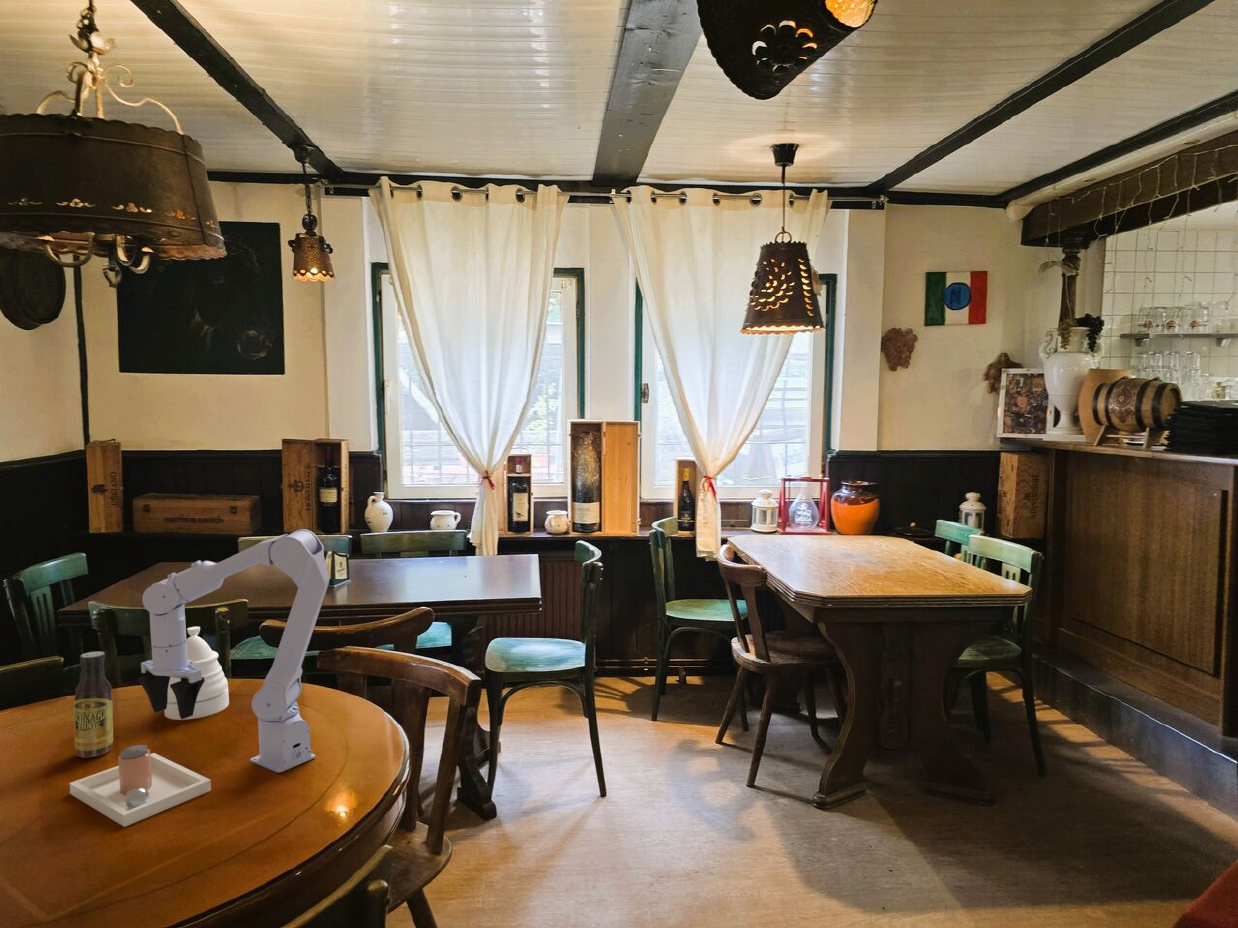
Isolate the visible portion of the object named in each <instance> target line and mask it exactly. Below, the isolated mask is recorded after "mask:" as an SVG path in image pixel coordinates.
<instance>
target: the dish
mask: <svg viewBox="0 0 1238 928" xmlns="http://www.w3.org/2000/svg"><path fill="white" fill-rule="evenodd" d="M150 758H151V775H152V786H151V788H149V789H148V792H149V800H148V802H147V803H146V804H143V805H141V806H138V807H136V808H133V809H130V808H128V807H127V806H126V804H125V796H126V795H123V794H121V793H120V781H119V765H117V766H114V767H111V768H108V769H105V770H102V771H100V772H99V771H98V772H97V773H95V774H91V775H89V776H86V777H83V778H80V779H77V780H74V781H72V782H69V795H71V796H73V797H75V799H78V800H79V801H81V802H83V803H85V804H86V805H88V806H89V807H90V808H93V809H94V810H96V811H97V812H99V813H101V814H102V815H104V816H106V817H108V818H110V819H111V820H112V821H114V822H116V823H117V824H118V825H120V826H122V827H124V828H126V827H127V826H130V825H133V824H135V823H138V822H140V821H142V820H144V819H147V818H149V817H151V816H154V815H156V814H159V813H161V812H164V811H165V810H168V809H171V808H174V807H176V806H178V805H180V804H183V803H185V802H188V801H190V800H192V799H194V798H195V799H196V798H197V797H199V796H202V795H203V794H207V793H208V792H211V791H212V784H211V782H212V781H211V779H210V778H208V777H205V776H203V775H201V774H199V773H197V772H195V771H193V770H190V769H189V768H187V767H185V766H183V765H180V764H178V763H176V762H174V761H172V760H170V759H167V758H166V757H164V756H162V755H159V754H157V753H155V752H153V753H150Z"/></svg>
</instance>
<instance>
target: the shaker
mask: <svg viewBox="0 0 1238 928" xmlns="http://www.w3.org/2000/svg"><path fill="white" fill-rule="evenodd" d="M150 754H151V750H150V749H149V748H148V746H147V745H146V744H145V745H144V744H137V745H131V746H128V747H126V748H124V749H122V750H121V751H120V754H119V755H118V756H117V764H118V765H117V766H119V781H120V793H121V794H123V795H126V794H127V793H128V792H129V791H130V790H131V789H133V788H135V787H144V788H145V789H147V790H148V789H149V788H151V786H152V775H151V758H150Z"/></svg>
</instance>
